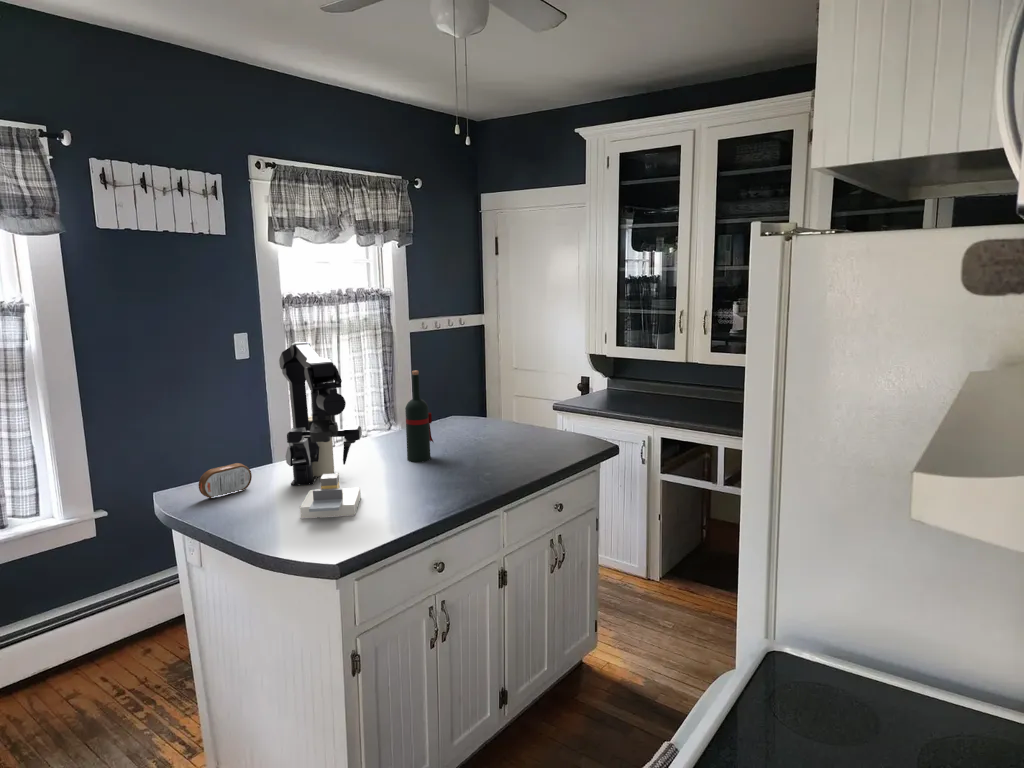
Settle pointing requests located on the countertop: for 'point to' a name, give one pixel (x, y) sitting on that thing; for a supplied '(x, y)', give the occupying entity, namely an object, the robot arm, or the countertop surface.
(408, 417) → the wine bottle
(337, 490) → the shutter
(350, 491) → the socket block
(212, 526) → the countertop surface
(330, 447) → the travel mug
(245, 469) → the tin
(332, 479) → the plug
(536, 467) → the countertop surface
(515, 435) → the countertop surface
